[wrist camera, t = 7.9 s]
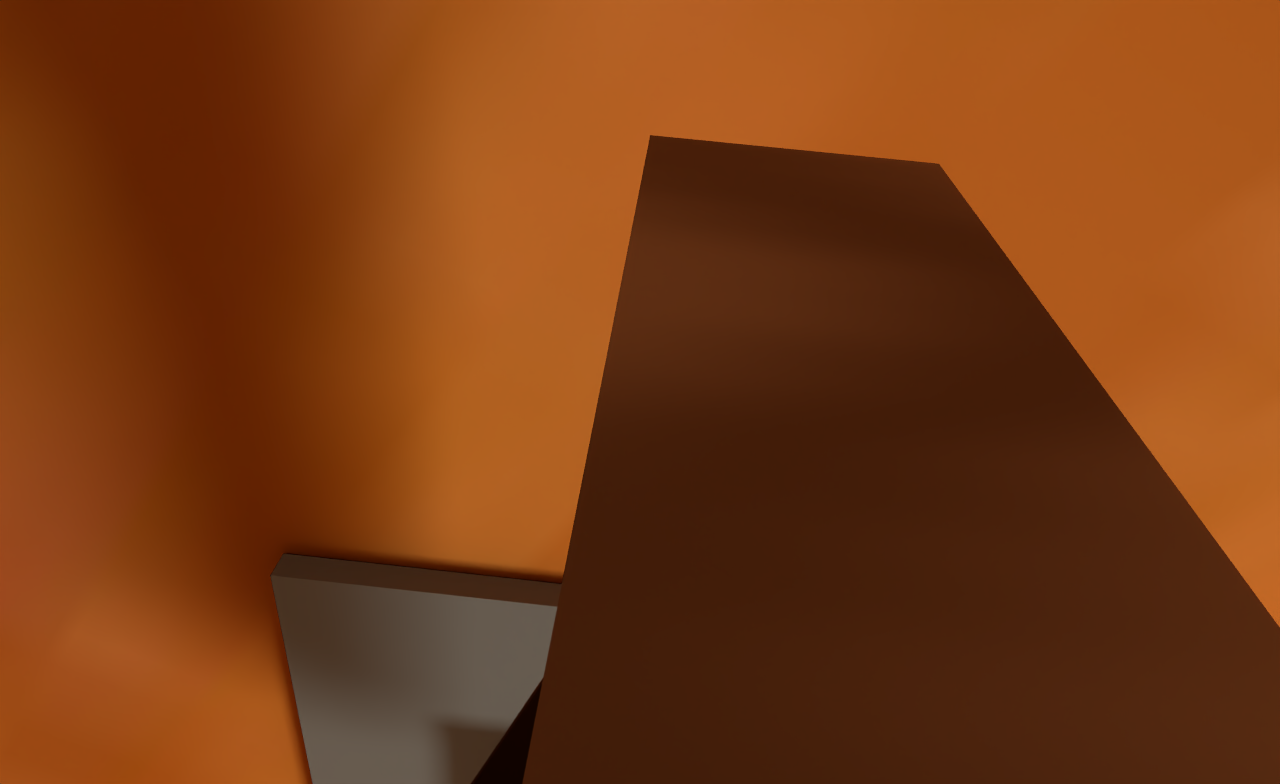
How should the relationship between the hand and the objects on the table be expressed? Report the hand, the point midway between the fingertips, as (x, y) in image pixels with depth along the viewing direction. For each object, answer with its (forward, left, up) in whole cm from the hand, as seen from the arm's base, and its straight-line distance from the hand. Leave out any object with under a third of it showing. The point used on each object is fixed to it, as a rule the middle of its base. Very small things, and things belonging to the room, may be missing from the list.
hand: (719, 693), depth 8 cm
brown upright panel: (0, +6, -2) cm, 6 cm away
